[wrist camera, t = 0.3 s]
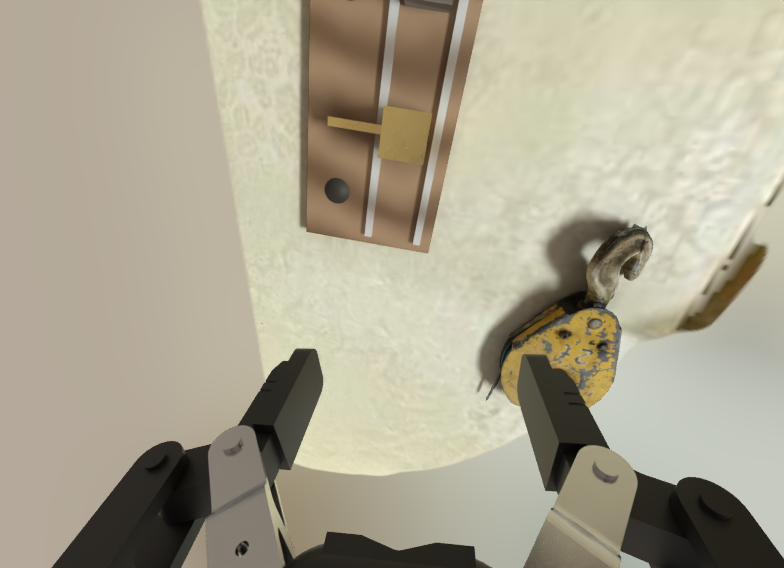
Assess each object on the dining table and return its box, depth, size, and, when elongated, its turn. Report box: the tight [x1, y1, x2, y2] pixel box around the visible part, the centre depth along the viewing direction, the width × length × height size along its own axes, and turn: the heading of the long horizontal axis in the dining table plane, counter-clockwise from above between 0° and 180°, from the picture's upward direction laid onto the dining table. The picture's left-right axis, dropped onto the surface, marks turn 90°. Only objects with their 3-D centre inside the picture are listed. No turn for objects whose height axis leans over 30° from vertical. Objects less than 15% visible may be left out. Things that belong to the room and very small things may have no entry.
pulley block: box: [486, 224, 653, 408], centre depth 40 cm, size 14×6×30 cm
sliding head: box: [328, 106, 432, 165], centre depth 29 cm, size 4×10×6 cm, turn 82°
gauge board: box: [306, 0, 483, 253], centre depth 31 cm, size 25×15×4 cm, turn 172°
